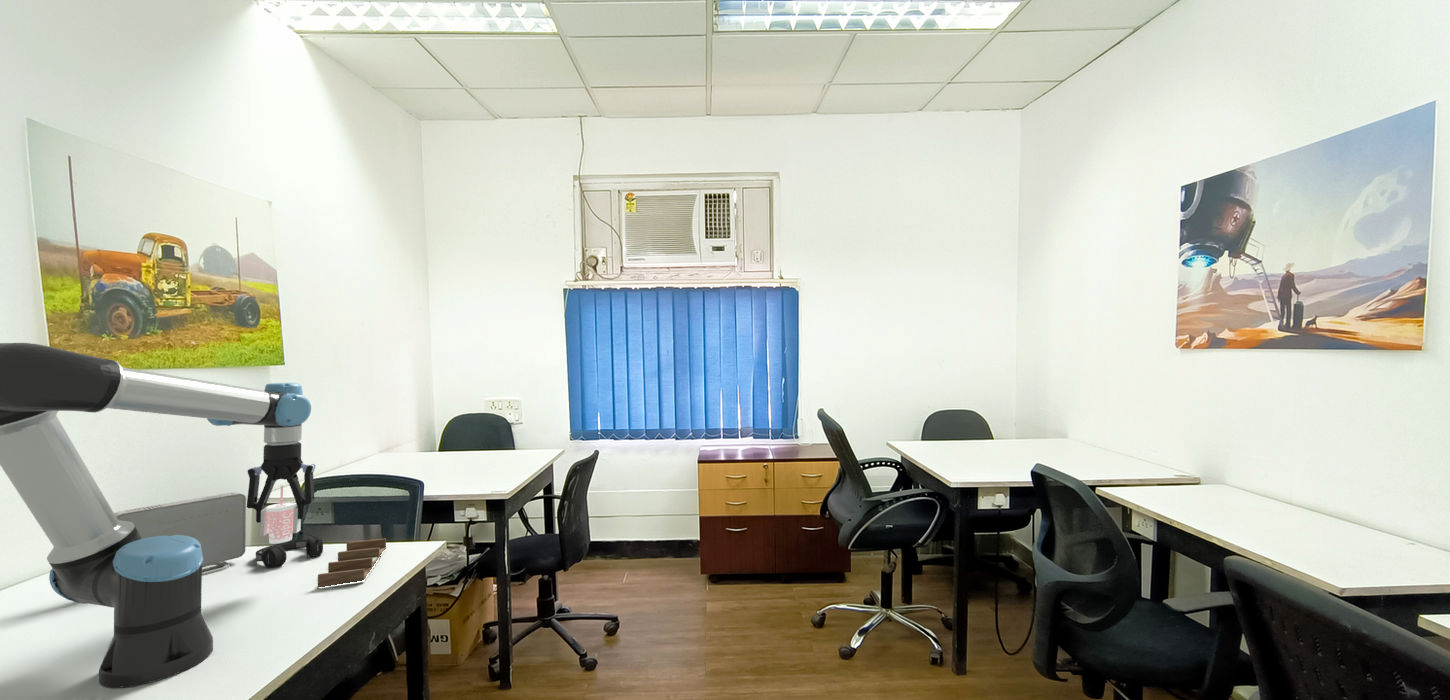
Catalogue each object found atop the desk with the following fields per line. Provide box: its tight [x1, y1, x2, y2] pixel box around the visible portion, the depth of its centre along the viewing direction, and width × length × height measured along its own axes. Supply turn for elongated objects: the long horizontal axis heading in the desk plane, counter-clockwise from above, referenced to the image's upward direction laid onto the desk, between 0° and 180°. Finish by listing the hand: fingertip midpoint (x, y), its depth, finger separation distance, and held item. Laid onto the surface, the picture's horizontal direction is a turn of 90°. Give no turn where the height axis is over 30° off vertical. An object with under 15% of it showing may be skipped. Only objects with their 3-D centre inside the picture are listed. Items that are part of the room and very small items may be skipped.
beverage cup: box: [265, 485, 297, 545], centre depth 138 cm, size 6×6×14 cm
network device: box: [114, 491, 247, 577], centre depth 145 cm, size 26×9×20 cm, turn 148°
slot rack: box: [317, 537, 387, 588], centre depth 151 cm, size 26×10×4 cm, turn 21°
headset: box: [255, 530, 324, 569], centre depth 158 cm, size 14×10×20 cm
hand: (280, 533), depth 138 cm, fingers closed on beverage cup, 6 cm apart
